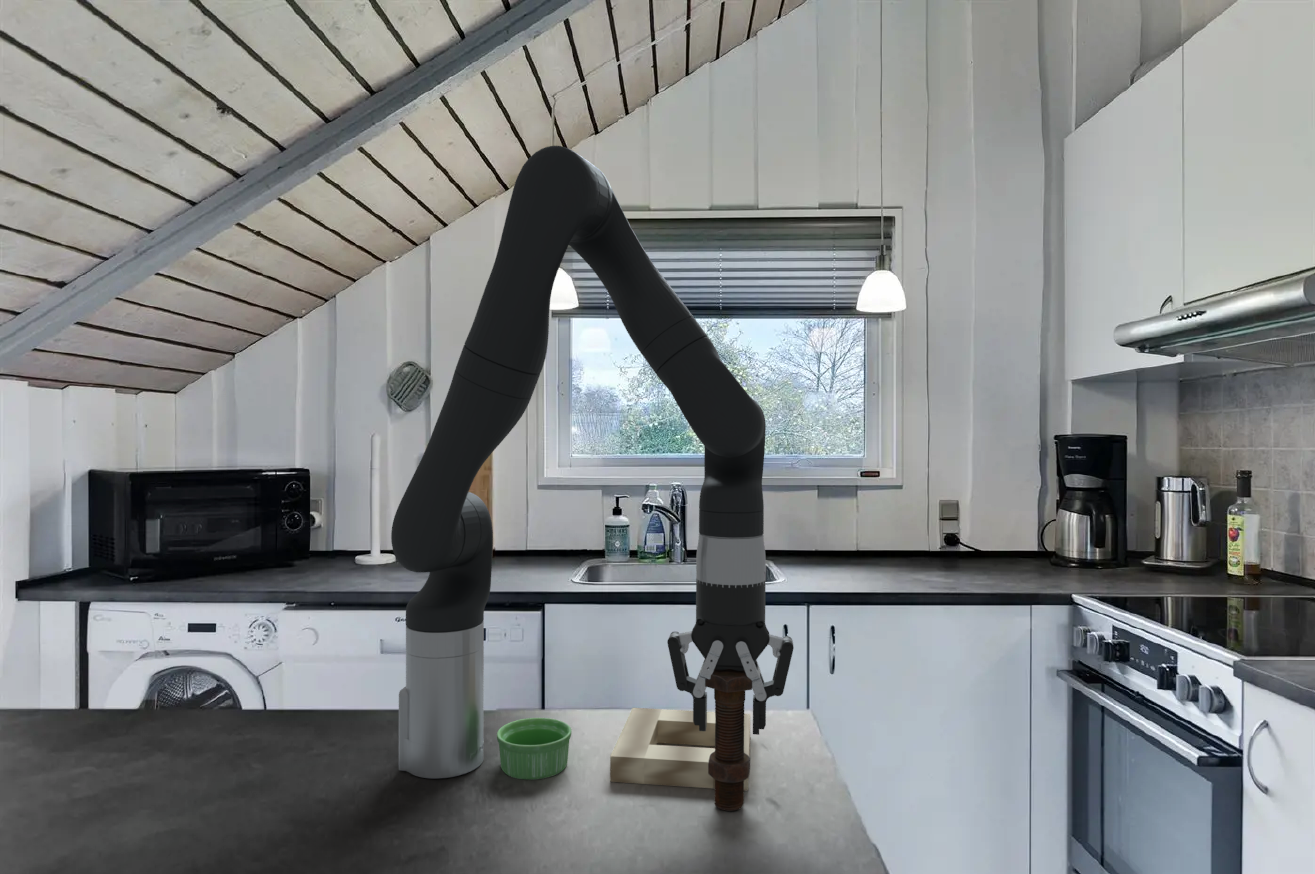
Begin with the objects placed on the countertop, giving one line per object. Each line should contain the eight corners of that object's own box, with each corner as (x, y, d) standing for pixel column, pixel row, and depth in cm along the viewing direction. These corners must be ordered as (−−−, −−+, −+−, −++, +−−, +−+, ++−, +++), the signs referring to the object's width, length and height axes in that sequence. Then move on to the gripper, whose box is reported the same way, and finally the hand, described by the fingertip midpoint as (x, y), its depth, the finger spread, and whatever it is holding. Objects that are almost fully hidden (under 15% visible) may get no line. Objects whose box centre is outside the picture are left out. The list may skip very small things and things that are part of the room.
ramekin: (492, 756, 99) (492, 721, 99) (563, 747, 102) (563, 713, 102) (501, 787, 91) (501, 749, 91) (578, 777, 94) (578, 740, 94)
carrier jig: (610, 781, 92) (610, 755, 92) (632, 729, 108) (632, 707, 108) (748, 790, 90) (748, 764, 90) (750, 736, 106) (750, 713, 106)
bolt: (749, 821, 83) (750, 679, 83) (702, 816, 84) (703, 676, 84) (754, 796, 89) (755, 663, 89) (709, 791, 90) (710, 660, 90)
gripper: (660, 579, 83) (659, 740, 84) (799, 584, 81) (797, 748, 82) (669, 567, 91) (668, 714, 91) (796, 571, 89) (794, 721, 89)
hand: (729, 729), depth 86 cm, fingers closed on bolt, 5 cm apart
